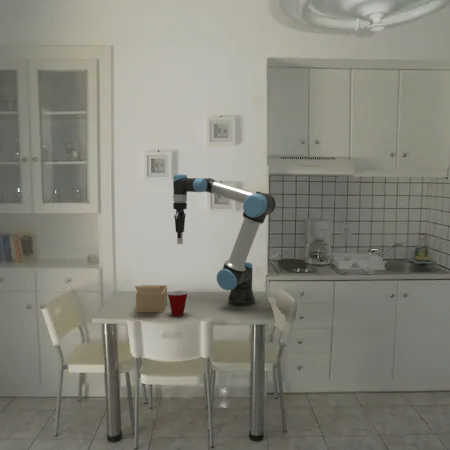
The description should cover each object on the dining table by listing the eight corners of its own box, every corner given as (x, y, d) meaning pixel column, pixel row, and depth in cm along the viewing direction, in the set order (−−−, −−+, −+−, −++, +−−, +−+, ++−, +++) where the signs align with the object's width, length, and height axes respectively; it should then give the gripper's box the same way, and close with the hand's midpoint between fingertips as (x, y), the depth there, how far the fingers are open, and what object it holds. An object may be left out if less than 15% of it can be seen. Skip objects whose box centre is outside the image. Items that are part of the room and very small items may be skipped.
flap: (161, 291, 241) (159, 286, 232) (161, 293, 240) (159, 287, 231) (138, 291, 240) (135, 285, 231) (137, 292, 240) (134, 286, 231)
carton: (166, 303, 259) (166, 285, 258) (163, 312, 241) (163, 293, 240) (141, 302, 259) (141, 285, 258) (136, 312, 241) (136, 293, 240)
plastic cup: (183, 310, 245) (183, 288, 243) (191, 316, 235) (191, 292, 234) (163, 313, 239) (163, 290, 238) (171, 319, 230) (171, 295, 229)
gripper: (177, 201, 268) (177, 242, 271) (169, 202, 256) (169, 245, 258) (190, 201, 266) (189, 242, 269) (182, 202, 254) (182, 245, 256)
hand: (179, 243), depth 263 cm, fingers closed
